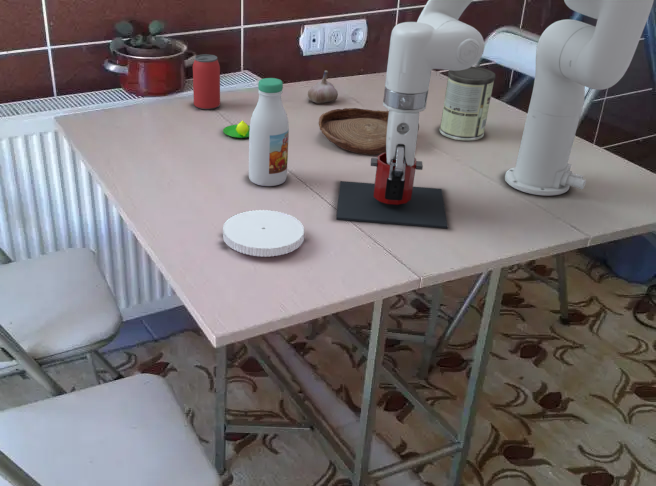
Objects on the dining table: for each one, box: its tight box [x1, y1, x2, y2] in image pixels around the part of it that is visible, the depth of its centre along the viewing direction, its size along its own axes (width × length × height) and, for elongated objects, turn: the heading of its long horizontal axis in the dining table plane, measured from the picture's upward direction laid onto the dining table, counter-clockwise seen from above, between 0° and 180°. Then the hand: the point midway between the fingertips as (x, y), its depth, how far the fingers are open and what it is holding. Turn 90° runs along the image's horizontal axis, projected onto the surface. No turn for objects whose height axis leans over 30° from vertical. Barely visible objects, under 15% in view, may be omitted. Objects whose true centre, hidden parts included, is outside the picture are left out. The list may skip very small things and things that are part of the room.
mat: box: [336, 180, 448, 229], centre depth 142 cm, size 20×16×1 cm
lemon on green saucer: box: [222, 120, 250, 139], centre depth 171 cm, size 8×8×3 cm
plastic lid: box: [222, 209, 305, 258], centre depth 129 cm, size 14×14×2 cm
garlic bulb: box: [307, 69, 339, 104], centre depth 189 cm, size 8×7×8 cm
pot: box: [370, 153, 424, 205], centre depth 139 cm, size 9×7×8 cm
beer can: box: [192, 53, 221, 111], centre depth 183 cm, size 7×7×12 cm
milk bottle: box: [248, 77, 290, 187], centre depth 145 cm, size 8×8×20 cm
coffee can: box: [438, 66, 497, 142], centre depth 171 cm, size 10×10×14 cm
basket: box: [318, 107, 420, 156], centre depth 169 cm, size 22×20×5 cm
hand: (393, 189), depth 140 cm, fingers closed on pot, 7 cm apart
